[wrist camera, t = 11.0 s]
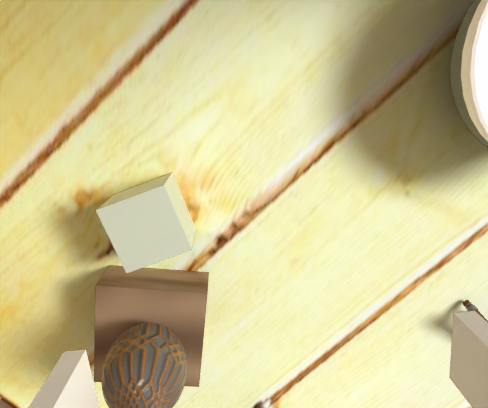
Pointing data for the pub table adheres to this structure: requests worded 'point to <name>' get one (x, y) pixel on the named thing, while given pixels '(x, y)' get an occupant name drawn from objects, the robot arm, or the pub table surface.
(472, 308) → the wooden post with brackets
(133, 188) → the sage cube
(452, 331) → the robot arm
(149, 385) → the vase
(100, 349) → the plinth
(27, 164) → the pub table surface
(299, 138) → the pub table surface
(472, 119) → the bowl
